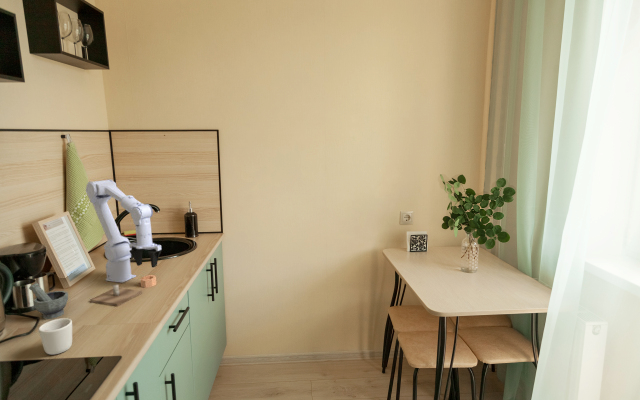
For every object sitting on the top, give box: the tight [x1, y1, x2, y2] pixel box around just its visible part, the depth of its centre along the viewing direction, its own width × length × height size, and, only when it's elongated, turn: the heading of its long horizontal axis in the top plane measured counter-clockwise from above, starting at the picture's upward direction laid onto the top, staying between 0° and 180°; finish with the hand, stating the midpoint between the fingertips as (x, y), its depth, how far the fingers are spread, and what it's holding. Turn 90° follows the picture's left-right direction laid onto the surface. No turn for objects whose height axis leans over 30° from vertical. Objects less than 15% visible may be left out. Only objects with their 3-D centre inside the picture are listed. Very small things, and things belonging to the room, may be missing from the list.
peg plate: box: [89, 283, 143, 307], centre depth 144 cm, size 13×12×5 cm
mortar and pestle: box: [28, 282, 69, 320], centre depth 130 cm, size 11×9×12 cm
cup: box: [38, 317, 73, 355], centre depth 110 cm, size 11×8×8 cm
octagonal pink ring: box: [139, 274, 157, 289], centre depth 157 cm, size 6×6×3 cm
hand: (147, 265), depth 155 cm, fingers open, 7 cm apart
